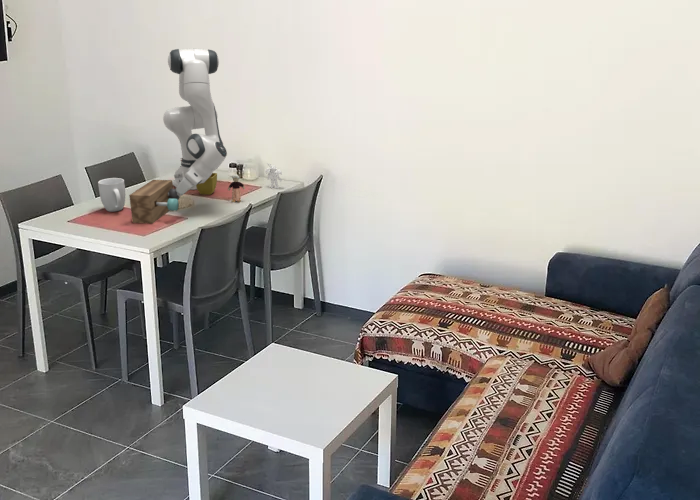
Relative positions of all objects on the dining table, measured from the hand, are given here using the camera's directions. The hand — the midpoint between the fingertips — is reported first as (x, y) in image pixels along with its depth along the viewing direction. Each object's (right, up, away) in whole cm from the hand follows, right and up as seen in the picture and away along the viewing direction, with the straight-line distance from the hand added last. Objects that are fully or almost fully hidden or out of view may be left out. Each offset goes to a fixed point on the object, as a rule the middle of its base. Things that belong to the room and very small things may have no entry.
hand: (179, 194), depth 332 cm
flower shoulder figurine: (+38, +6, +35) cm, 52 cm away
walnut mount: (-10, -9, -3) cm, 13 cm away
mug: (-29, -7, +3) cm, 30 cm away
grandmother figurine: (+24, -2, +14) cm, 27 cm away
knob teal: (-2, -8, -13) cm, 15 cm away
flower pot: (+7, +2, +27) cm, 28 cm away
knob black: (-5, -2, +2) cm, 6 cm away
